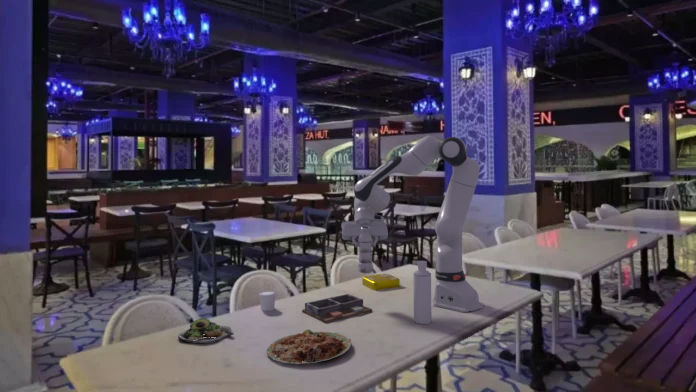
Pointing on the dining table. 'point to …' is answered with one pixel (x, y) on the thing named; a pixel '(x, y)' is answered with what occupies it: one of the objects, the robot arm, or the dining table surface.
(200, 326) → the salad plate
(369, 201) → the robot arm
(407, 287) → the dining table surface
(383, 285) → the element tile
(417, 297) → the white bottle
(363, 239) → the plastic bottle
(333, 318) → the socket board
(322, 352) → the rice dish
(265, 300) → the white cup
